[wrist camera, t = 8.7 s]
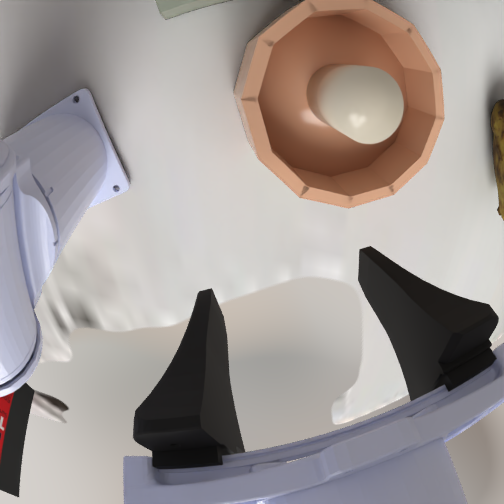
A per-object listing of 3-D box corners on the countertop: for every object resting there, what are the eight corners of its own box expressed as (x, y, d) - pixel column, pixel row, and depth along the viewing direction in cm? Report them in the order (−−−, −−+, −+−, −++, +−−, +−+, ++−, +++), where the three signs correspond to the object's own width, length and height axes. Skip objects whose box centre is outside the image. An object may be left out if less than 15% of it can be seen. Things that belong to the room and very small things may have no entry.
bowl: (265, 200, 22) (277, 229, 18) (211, 26, 14) (213, 15, 10) (413, 160, 21) (443, 180, 18) (392, 6, 13) (428, 1, 10)
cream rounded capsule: (314, 132, 18) (342, 152, 15) (298, 70, 16) (325, 72, 12) (371, 119, 18) (407, 135, 14) (360, 59, 15) (397, 63, 12)
